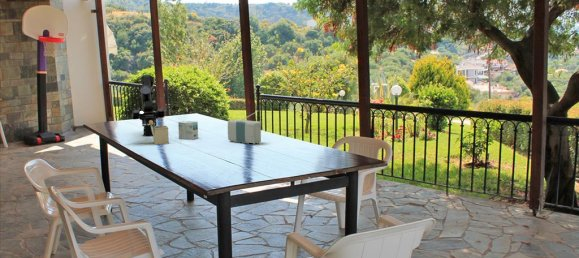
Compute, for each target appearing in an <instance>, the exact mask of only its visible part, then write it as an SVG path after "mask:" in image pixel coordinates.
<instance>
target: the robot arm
mask: <svg viewBox="0 0 579 258" xmlns="http://www.w3.org/2000/svg"><path fill="white" fill-rule="evenodd" d="M140 84H141V85H142V86H141V88H140V90H139V96H140V98H141V105H142V110H141V111H140V110H139V109H133V110H132V115H131V116H132V120H140V121H141V124H142V127H143V134H142V136H145V137H146V136H147V137H152V136H153V134H152V129H151V125H150V124H149V120H152V121H153V124H152V127H153V126H158V124H157V123H158V121H157V120H158V119H159V118H165V113H166V112H165V109H164V108H157V111H154V107H157V103H156V102H157V101H156V100H152V97H153V96H154V94H155V92H154V90H153V88H154V84H155V77H154V76H152V75H151V74H142V76H141V77H140Z"/></svg>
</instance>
